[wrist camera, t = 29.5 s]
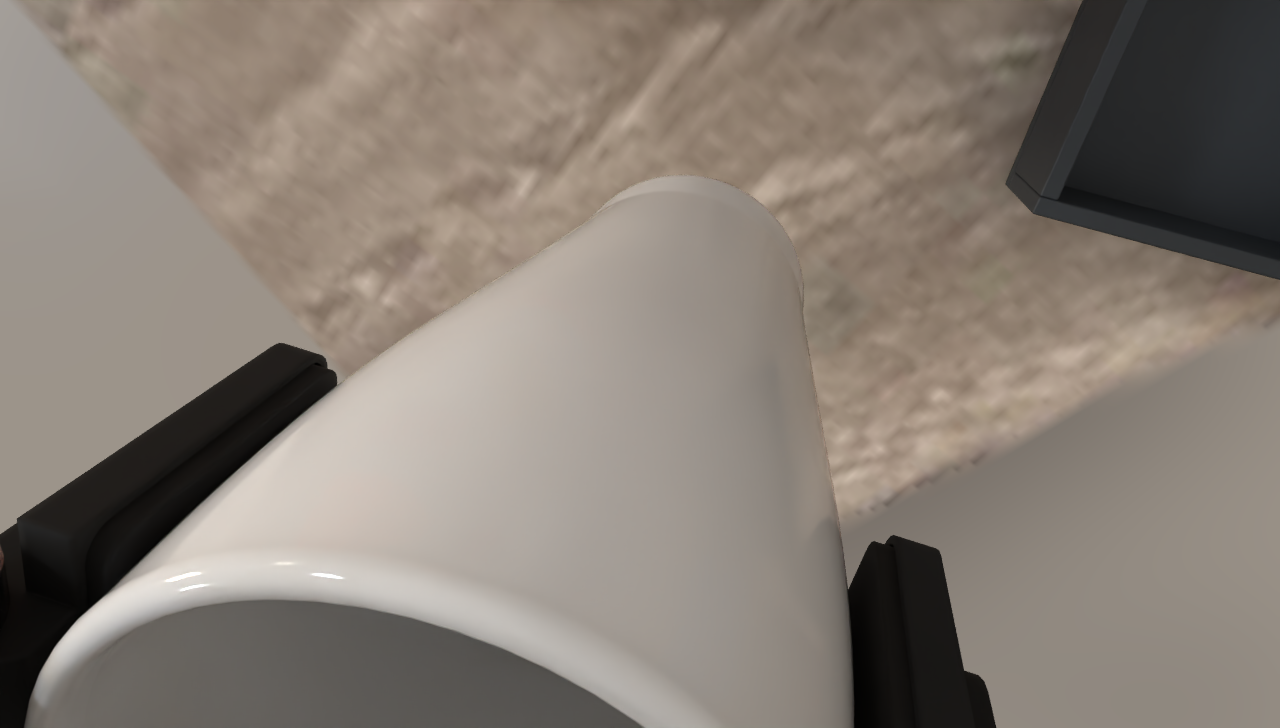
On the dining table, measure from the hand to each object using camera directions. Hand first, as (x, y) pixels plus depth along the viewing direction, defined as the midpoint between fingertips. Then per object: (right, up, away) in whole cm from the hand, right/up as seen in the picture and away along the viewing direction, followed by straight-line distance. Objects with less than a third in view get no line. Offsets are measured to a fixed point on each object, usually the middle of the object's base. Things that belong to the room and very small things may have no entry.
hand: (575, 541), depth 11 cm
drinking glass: (+2, +4, +9) cm, 10 cm away
